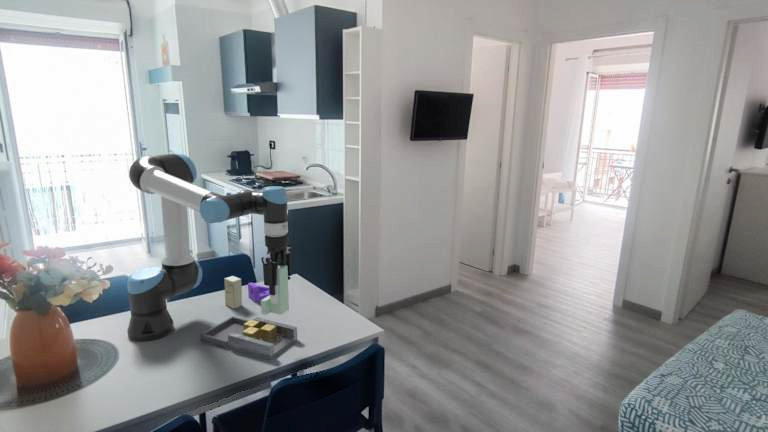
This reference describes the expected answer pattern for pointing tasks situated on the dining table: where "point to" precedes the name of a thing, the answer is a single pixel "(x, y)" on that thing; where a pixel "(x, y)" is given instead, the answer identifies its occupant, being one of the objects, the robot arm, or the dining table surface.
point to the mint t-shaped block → (282, 294)
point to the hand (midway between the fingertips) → (279, 300)
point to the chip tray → (224, 331)
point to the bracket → (257, 292)
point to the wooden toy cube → (252, 333)
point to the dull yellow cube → (252, 324)
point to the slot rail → (264, 341)
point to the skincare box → (233, 292)
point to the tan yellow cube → (268, 332)
